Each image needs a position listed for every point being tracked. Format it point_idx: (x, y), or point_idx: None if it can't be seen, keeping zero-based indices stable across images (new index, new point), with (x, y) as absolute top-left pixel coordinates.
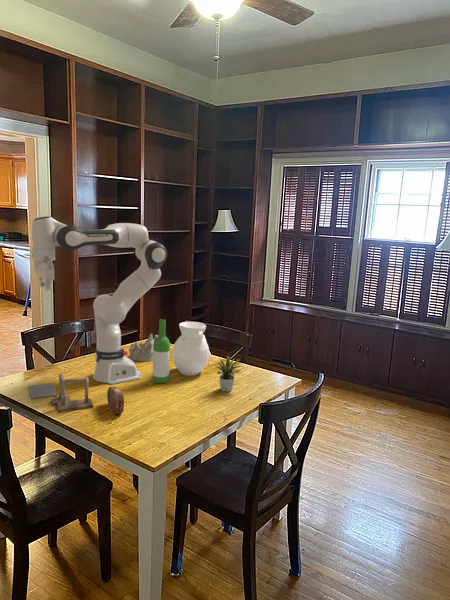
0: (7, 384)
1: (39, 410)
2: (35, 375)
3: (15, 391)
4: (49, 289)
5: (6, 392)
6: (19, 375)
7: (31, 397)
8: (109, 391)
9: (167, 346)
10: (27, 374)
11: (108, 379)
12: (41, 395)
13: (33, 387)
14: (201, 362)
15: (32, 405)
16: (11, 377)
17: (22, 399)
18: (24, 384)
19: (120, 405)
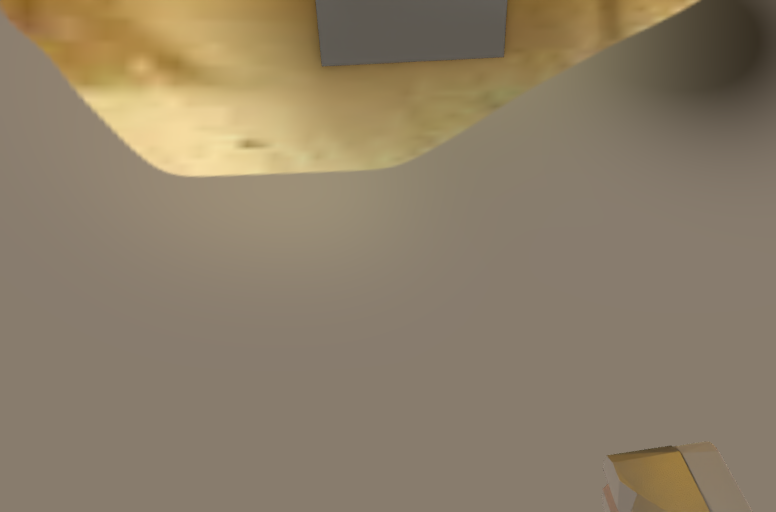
0: (260, 165)
1: (664, 16)
2: (128, 23)
3: (369, 127)
4: (713, 462)
5: (371, 165)
6: (122, 112)
7: (500, 55)
8: None
9: None
10: (107, 69)
11: None
12: (492, 2)
13: (356, 42)
14: None
15: (586, 49)
16: (153, 150)
17: (489, 95)
18: (276, 86)
19: None
